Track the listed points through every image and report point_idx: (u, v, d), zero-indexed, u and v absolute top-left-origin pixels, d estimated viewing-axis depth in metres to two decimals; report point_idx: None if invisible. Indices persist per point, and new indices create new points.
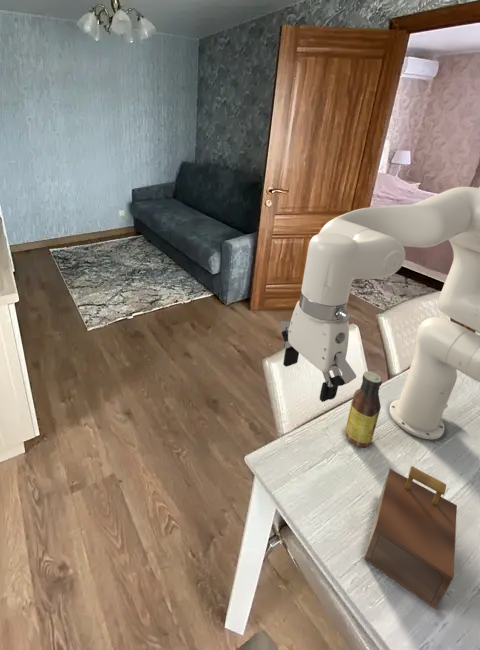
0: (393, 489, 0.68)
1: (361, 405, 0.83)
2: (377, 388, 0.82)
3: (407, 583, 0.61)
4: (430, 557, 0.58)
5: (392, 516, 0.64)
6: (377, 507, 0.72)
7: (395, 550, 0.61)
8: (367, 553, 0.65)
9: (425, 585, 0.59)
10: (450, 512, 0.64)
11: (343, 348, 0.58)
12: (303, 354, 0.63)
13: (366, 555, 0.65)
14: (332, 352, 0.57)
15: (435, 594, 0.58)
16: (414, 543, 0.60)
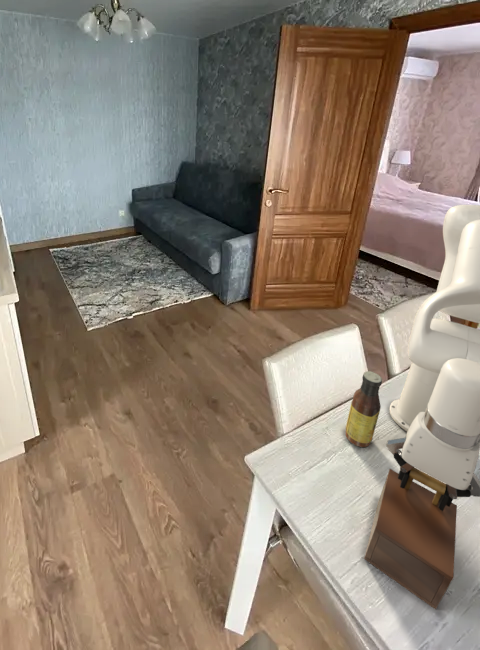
0: (393, 489, 0.68)
1: (361, 405, 0.83)
2: (377, 388, 0.82)
3: (407, 583, 0.61)
4: (430, 557, 0.58)
5: (392, 516, 0.64)
6: (377, 507, 0.72)
7: (395, 550, 0.61)
8: (367, 553, 0.65)
9: (425, 585, 0.59)
10: (450, 512, 0.64)
11: None
12: (430, 473, 0.63)
13: (366, 555, 0.65)
14: (473, 473, 0.59)
15: (435, 594, 0.58)
16: (414, 543, 0.60)
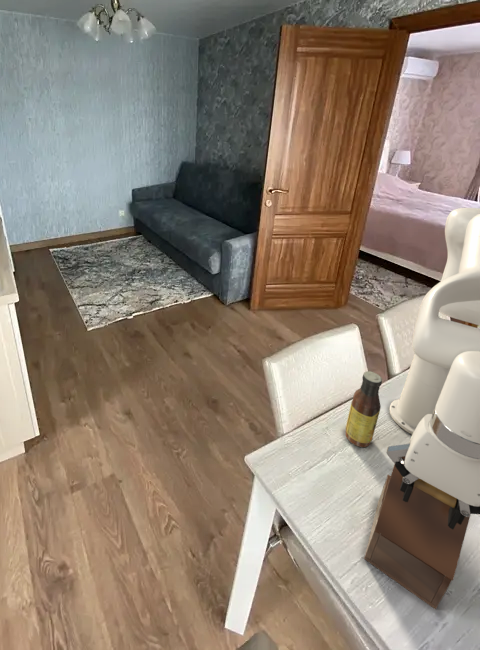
0: (399, 480, 0.62)
1: (361, 405, 0.83)
2: (377, 388, 0.82)
3: (407, 583, 0.61)
4: (431, 559, 0.57)
5: (394, 514, 0.61)
6: (377, 507, 0.72)
7: (395, 550, 0.61)
8: (367, 553, 0.65)
9: (425, 585, 0.59)
10: None
11: None
12: (438, 486, 0.53)
13: (366, 555, 0.65)
14: None
15: (435, 594, 0.58)
16: (415, 544, 0.59)
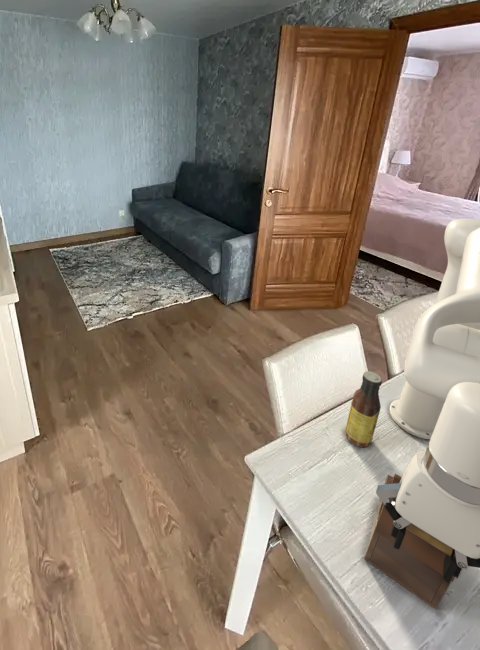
0: None
1: (361, 405, 0.83)
2: (377, 388, 0.82)
3: (407, 583, 0.61)
4: (430, 563, 0.57)
5: (392, 524, 0.59)
6: (377, 507, 0.72)
7: (395, 550, 0.61)
8: (367, 553, 0.65)
9: (425, 585, 0.59)
10: None
11: None
12: (433, 534, 0.48)
13: (366, 555, 0.65)
14: None
15: (435, 594, 0.58)
16: (414, 549, 0.58)
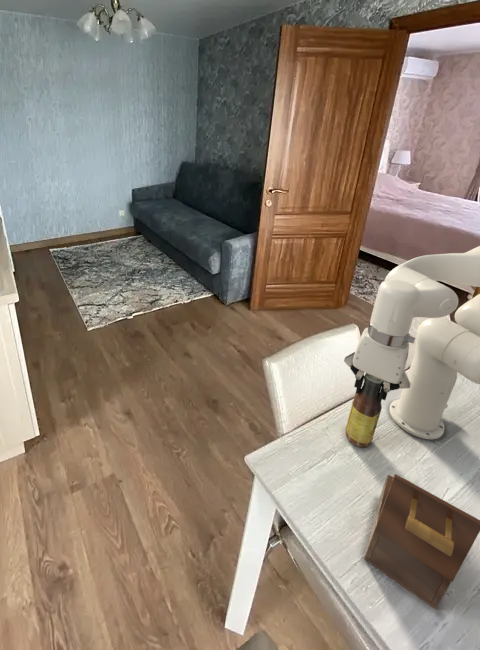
0: (396, 500, 0.58)
1: (362, 405, 0.83)
2: (379, 389, 0.82)
3: (407, 583, 0.61)
4: (430, 563, 0.57)
5: (392, 524, 0.59)
6: (377, 507, 0.72)
7: (395, 550, 0.61)
8: (367, 553, 0.65)
9: (425, 585, 0.59)
10: (469, 531, 0.52)
11: None
12: (373, 374, 0.80)
13: (366, 555, 0.65)
14: (403, 368, 0.76)
15: (435, 594, 0.58)
16: (414, 549, 0.58)
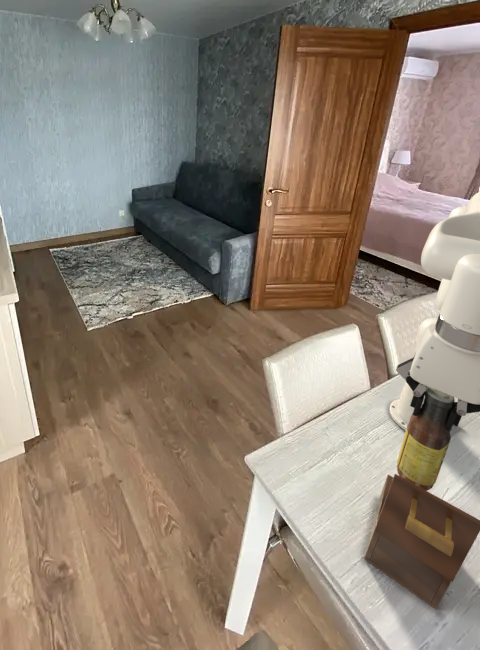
0: (396, 500, 0.58)
1: (424, 434, 0.60)
2: (448, 410, 0.58)
3: (407, 583, 0.61)
4: (430, 563, 0.57)
5: (392, 524, 0.59)
6: (377, 507, 0.72)
7: (395, 550, 0.61)
8: (367, 553, 0.65)
9: (425, 585, 0.59)
10: (469, 531, 0.52)
11: None
12: (442, 389, 0.56)
13: (366, 555, 0.65)
14: None
15: (435, 594, 0.58)
16: (414, 549, 0.58)
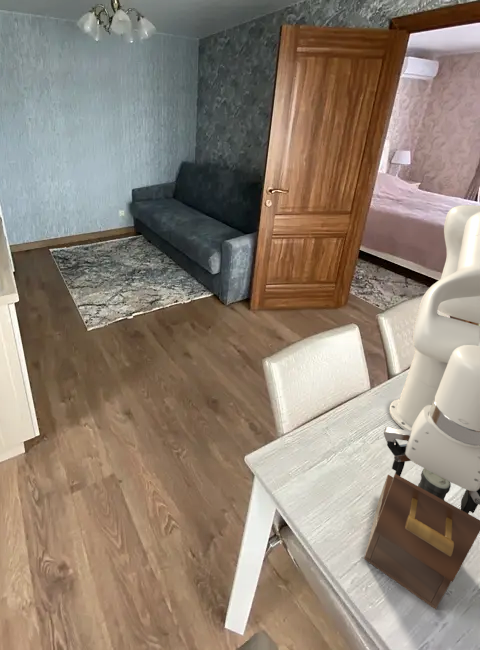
0: (396, 500, 0.58)
1: None
2: (444, 495, 0.59)
3: (407, 583, 0.61)
4: (430, 563, 0.57)
5: (392, 524, 0.59)
6: (377, 507, 0.72)
7: (395, 550, 0.61)
8: (367, 553, 0.65)
9: (425, 585, 0.59)
10: (469, 531, 0.52)
11: None
12: (438, 473, 0.57)
13: (366, 555, 0.65)
14: None
15: (435, 594, 0.58)
16: (414, 549, 0.58)
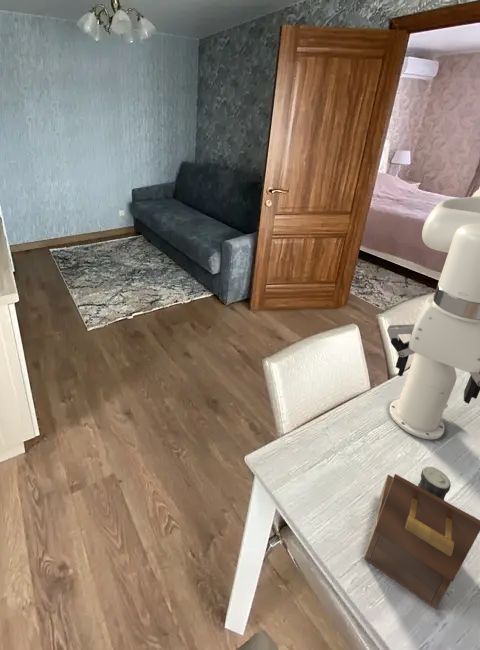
0: (396, 500, 0.58)
1: None
2: (444, 495, 0.59)
3: (407, 583, 0.61)
4: (430, 563, 0.57)
5: (392, 524, 0.59)
6: (377, 507, 0.72)
7: (395, 550, 0.61)
8: (367, 553, 0.65)
9: (425, 585, 0.59)
10: (469, 531, 0.52)
11: None
12: (441, 360, 0.57)
13: (366, 555, 0.65)
14: None
15: (435, 594, 0.58)
16: (414, 549, 0.58)
